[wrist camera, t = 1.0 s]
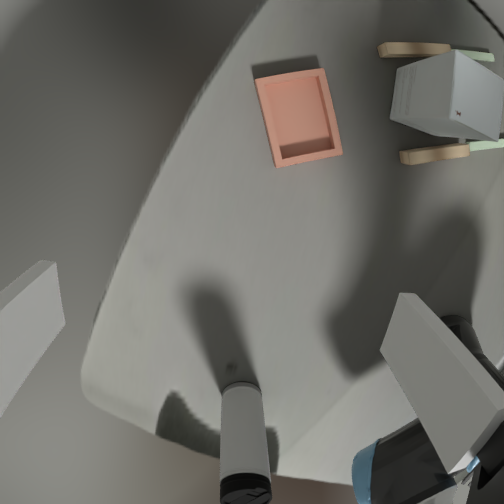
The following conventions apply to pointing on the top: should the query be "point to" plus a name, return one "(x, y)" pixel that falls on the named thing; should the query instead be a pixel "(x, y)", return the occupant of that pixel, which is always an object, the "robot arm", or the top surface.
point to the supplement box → (449, 97)
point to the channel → (434, 151)
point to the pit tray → (298, 117)
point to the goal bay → (482, 143)
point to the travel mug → (243, 447)
